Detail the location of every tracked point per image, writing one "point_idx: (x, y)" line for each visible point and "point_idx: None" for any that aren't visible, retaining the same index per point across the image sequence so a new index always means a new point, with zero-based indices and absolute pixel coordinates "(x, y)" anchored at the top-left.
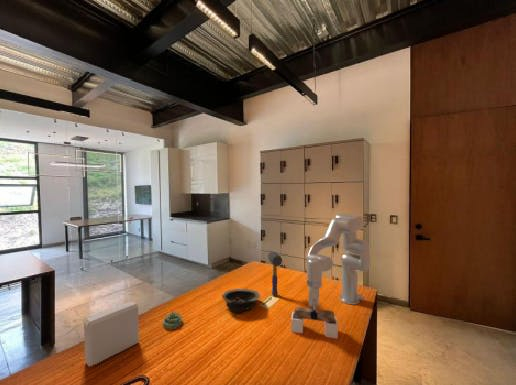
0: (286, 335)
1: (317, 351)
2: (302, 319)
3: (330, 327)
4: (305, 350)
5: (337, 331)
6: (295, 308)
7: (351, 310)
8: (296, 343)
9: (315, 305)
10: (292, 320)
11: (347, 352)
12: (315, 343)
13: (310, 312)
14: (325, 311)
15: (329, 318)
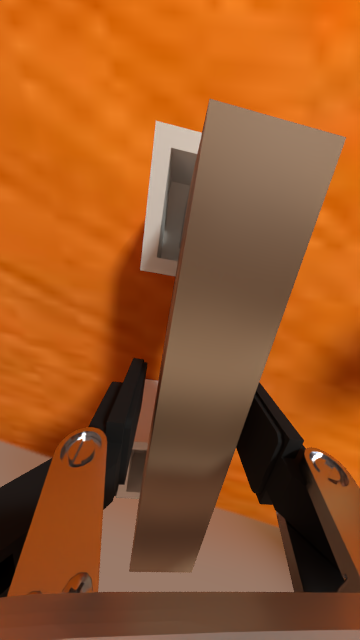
0: (122, 150)
1: (22, 326)
2: (158, 270)
3: None
4: (9, 265)
5: None
6: (278, 129)
7: None
8: (55, 217)
9: (272, 503)
10: (154, 152)
11: (53, 436)
12: (80, 326)
13: (160, 388)
14: (184, 527)
15: (140, 494)
